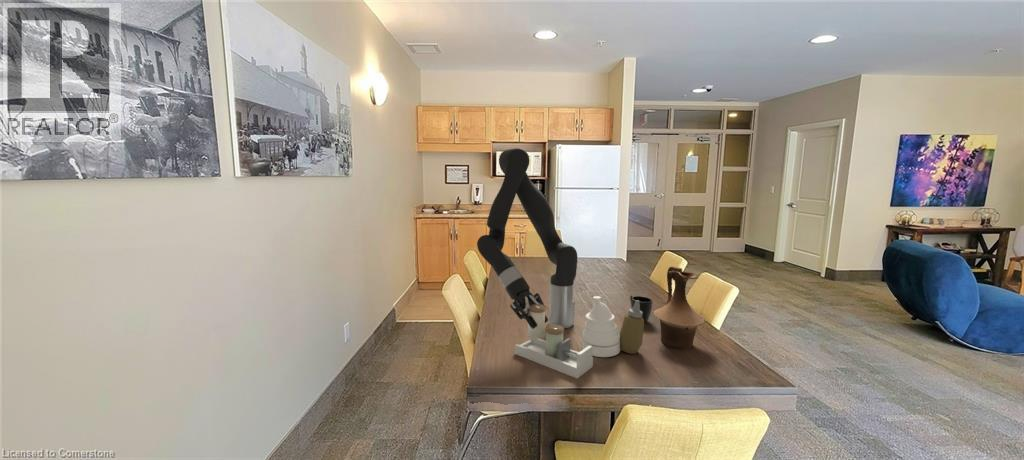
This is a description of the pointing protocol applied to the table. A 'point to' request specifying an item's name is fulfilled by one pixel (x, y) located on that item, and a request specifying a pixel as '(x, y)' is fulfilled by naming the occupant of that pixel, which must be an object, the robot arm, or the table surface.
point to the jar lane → (569, 366)
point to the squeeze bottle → (632, 330)
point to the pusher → (564, 350)
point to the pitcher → (678, 313)
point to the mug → (643, 305)
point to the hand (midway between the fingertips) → (540, 324)
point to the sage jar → (553, 339)
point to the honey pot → (601, 331)
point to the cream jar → (537, 321)
